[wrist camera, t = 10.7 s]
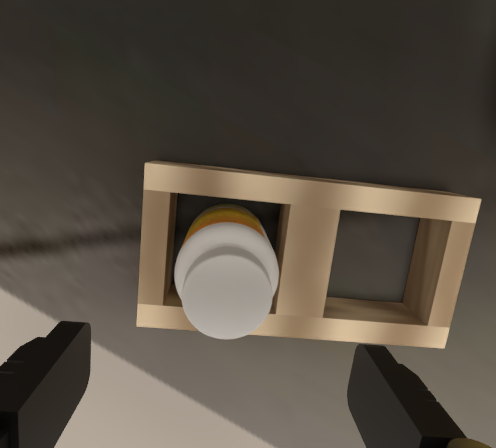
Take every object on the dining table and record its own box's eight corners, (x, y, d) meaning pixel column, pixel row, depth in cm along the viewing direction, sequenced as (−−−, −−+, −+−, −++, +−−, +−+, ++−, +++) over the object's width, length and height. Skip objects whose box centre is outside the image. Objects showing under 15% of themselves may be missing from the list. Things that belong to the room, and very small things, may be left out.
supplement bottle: (172, 228, 25) (138, 280, 15) (239, 187, 24) (248, 214, 15) (214, 291, 26) (207, 376, 16) (279, 252, 25) (311, 316, 16)
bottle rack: (148, 302, 26) (136, 326, 22) (156, 160, 24) (144, 162, 20) (417, 322, 27) (444, 348, 24) (446, 191, 25) (481, 198, 22)
